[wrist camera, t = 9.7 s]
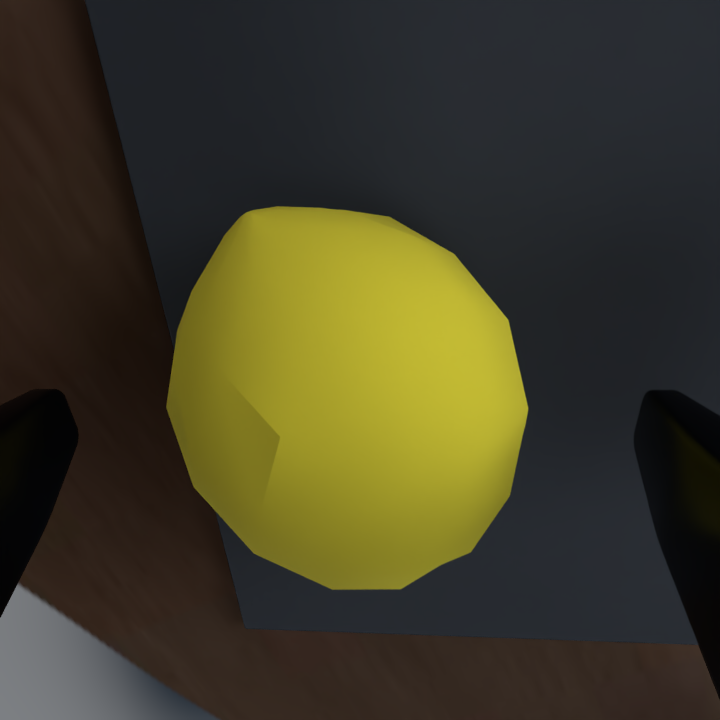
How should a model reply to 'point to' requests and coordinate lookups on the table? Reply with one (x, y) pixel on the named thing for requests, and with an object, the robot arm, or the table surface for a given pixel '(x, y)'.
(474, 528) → the lemon
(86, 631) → the table surface
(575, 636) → the desk mat
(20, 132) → the table surface
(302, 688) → the table surface
